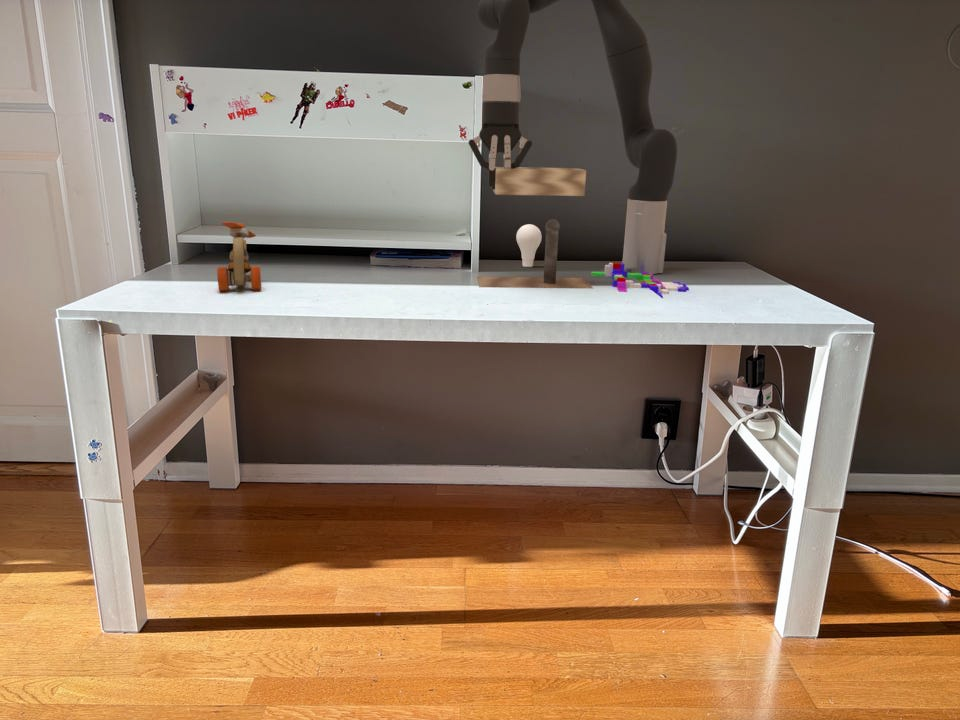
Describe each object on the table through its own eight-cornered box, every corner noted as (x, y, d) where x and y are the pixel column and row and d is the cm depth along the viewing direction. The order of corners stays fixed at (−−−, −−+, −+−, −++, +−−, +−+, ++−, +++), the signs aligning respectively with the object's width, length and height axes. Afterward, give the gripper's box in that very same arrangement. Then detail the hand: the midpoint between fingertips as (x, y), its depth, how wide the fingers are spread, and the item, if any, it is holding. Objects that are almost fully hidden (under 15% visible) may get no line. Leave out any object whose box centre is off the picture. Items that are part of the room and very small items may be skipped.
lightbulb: (532, 273, 167) (535, 226, 164) (510, 270, 170) (512, 224, 167) (544, 269, 172) (546, 224, 169) (522, 266, 175) (524, 222, 172)
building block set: (696, 302, 143) (699, 281, 142) (595, 298, 145) (597, 276, 144) (675, 279, 167) (678, 260, 166) (589, 275, 169) (590, 257, 168)
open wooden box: (576, 192, 150) (578, 168, 149) (584, 195, 142) (586, 170, 141) (493, 191, 149) (493, 166, 148) (496, 194, 141) (496, 168, 140)
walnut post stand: (583, 282, 158) (587, 217, 153) (593, 293, 147) (598, 223, 143) (476, 281, 156) (478, 215, 152) (479, 291, 146) (480, 221, 142)
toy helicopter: (218, 294, 138) (211, 224, 134) (223, 274, 157) (218, 212, 153) (261, 293, 140) (256, 223, 136) (261, 273, 159) (257, 212, 155)
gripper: (533, 101, 144) (529, 188, 149) (466, 100, 143) (465, 187, 148) (537, 100, 137) (534, 191, 142) (467, 98, 136) (466, 190, 141)
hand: (498, 189), depth 145 cm, fingers closed on open wooden box
